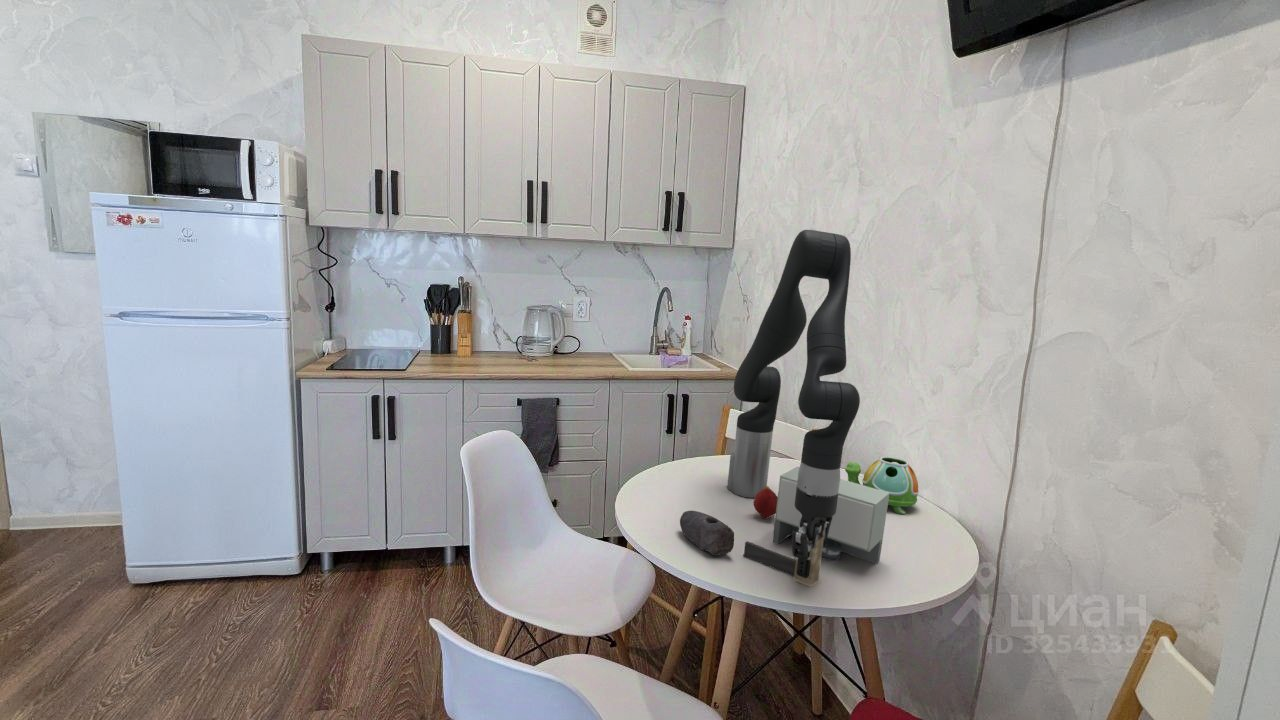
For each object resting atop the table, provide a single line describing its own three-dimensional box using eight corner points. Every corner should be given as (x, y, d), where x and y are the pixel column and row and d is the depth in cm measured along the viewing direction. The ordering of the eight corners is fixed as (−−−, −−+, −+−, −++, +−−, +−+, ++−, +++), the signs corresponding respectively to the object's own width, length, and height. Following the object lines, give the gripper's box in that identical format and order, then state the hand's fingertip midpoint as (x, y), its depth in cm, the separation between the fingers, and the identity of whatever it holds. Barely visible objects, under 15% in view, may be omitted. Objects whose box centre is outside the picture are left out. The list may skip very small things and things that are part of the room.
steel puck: (811, 555, 129) (813, 544, 128) (821, 547, 132) (822, 536, 132) (834, 563, 126) (836, 552, 125) (843, 555, 129) (845, 544, 129)
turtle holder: (845, 487, 169) (850, 445, 167) (916, 502, 162) (923, 459, 160) (838, 502, 158) (844, 457, 156) (914, 519, 151) (922, 473, 149)
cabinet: (770, 543, 132) (778, 476, 130) (789, 529, 140) (797, 466, 137) (864, 578, 120) (874, 505, 118) (879, 561, 128) (889, 492, 125)
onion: (778, 516, 147) (782, 484, 145) (775, 525, 141) (779, 492, 140) (754, 511, 149) (757, 479, 147) (750, 520, 143) (753, 487, 142)
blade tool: (810, 586, 115) (816, 542, 114) (740, 558, 125) (744, 516, 123) (818, 580, 118) (824, 536, 117) (748, 552, 127) (753, 511, 126)
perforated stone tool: (671, 533, 134) (673, 502, 133) (690, 528, 137) (693, 499, 136) (714, 564, 122) (718, 531, 120) (735, 559, 124) (738, 526, 123)
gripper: (813, 472, 122) (803, 553, 125) (782, 490, 111) (772, 578, 114) (851, 483, 118) (839, 566, 121) (822, 503, 107) (810, 594, 110)
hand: (806, 571), depth 118 cm, fingers closed on blade tool, 3 cm apart
